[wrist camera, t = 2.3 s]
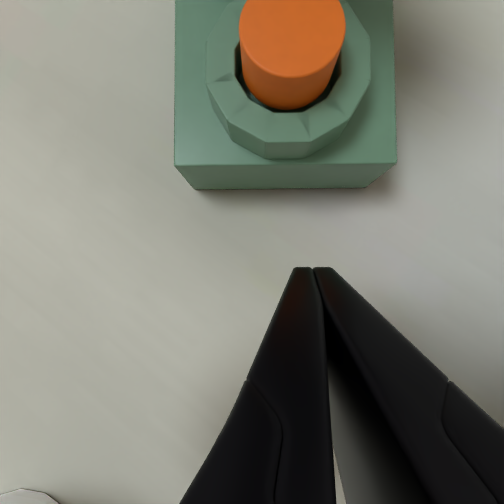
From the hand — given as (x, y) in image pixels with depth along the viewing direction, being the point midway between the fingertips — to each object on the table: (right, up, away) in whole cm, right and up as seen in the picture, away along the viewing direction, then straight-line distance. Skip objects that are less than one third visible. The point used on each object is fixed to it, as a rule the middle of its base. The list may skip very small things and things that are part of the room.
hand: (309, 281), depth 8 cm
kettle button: (0, +8, +6) cm, 10 cm away
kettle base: (0, +11, +12) cm, 17 cm away
